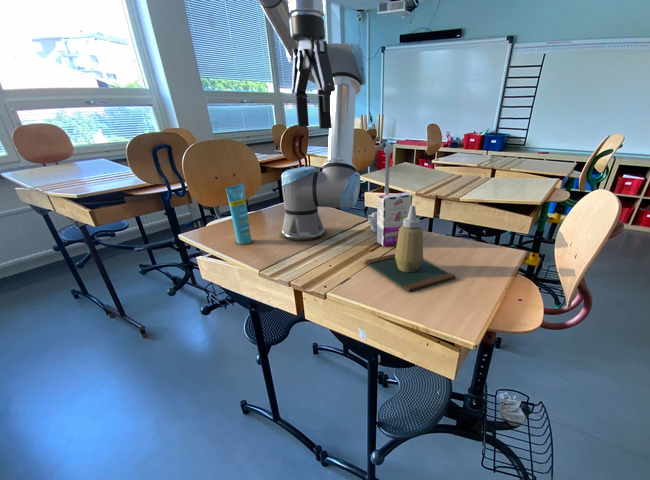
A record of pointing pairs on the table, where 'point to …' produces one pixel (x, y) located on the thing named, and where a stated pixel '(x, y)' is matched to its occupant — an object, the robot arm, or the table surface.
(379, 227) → the candy bar box
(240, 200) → the tube
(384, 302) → the table surface
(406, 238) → the squeeze bottle
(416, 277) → the desk pad
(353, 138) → the robot arm
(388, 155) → the flag stand
